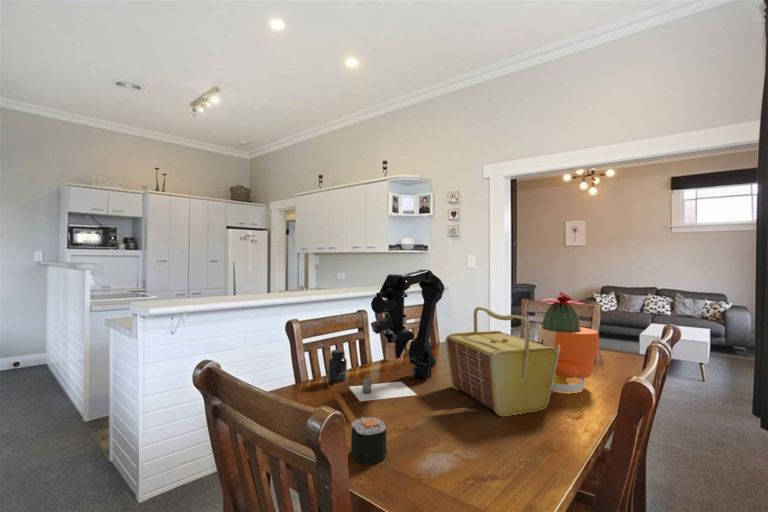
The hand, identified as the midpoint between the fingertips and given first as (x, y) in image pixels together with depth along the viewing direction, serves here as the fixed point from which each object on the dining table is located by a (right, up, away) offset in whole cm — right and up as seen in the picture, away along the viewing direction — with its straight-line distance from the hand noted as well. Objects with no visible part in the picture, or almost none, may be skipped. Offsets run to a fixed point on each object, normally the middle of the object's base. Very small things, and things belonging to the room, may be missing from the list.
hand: (394, 355), depth 134 cm
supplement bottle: (-21, -13, +10) cm, 26 cm away
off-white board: (-4, -13, -1) cm, 14 cm away
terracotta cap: (0, -1, 0) cm, 1 cm away
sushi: (-7, -13, -41) cm, 44 cm away
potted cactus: (+66, -15, +14) cm, 69 cm away
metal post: (-9, -11, -3) cm, 15 cm away
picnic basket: (+35, -14, -3) cm, 38 cm away
